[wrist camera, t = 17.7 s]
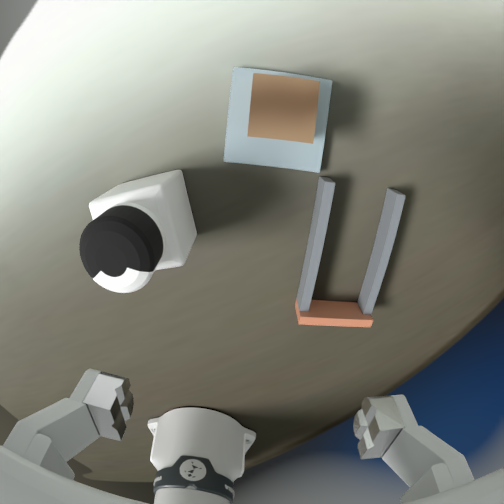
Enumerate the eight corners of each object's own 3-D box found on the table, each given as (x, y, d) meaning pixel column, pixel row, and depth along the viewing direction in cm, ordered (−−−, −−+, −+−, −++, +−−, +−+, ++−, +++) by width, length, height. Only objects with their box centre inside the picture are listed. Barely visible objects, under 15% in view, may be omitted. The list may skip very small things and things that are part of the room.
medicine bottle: (118, 184, 30) (55, 223, 19) (182, 168, 29) (141, 200, 18) (136, 246, 32) (90, 308, 22) (198, 235, 32) (172, 299, 21)
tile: (317, 170, 29) (319, 172, 28) (224, 160, 29) (223, 161, 28) (329, 81, 25) (332, 80, 24) (234, 68, 25) (233, 67, 24)
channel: (362, 309, 36) (370, 327, 33) (294, 305, 36) (298, 324, 32) (395, 189, 30) (410, 198, 26) (319, 176, 29) (327, 183, 26)
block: (302, 139, 27) (313, 143, 22) (248, 133, 27) (247, 136, 22) (308, 87, 25) (320, 81, 20) (253, 80, 25) (253, 72, 20)
